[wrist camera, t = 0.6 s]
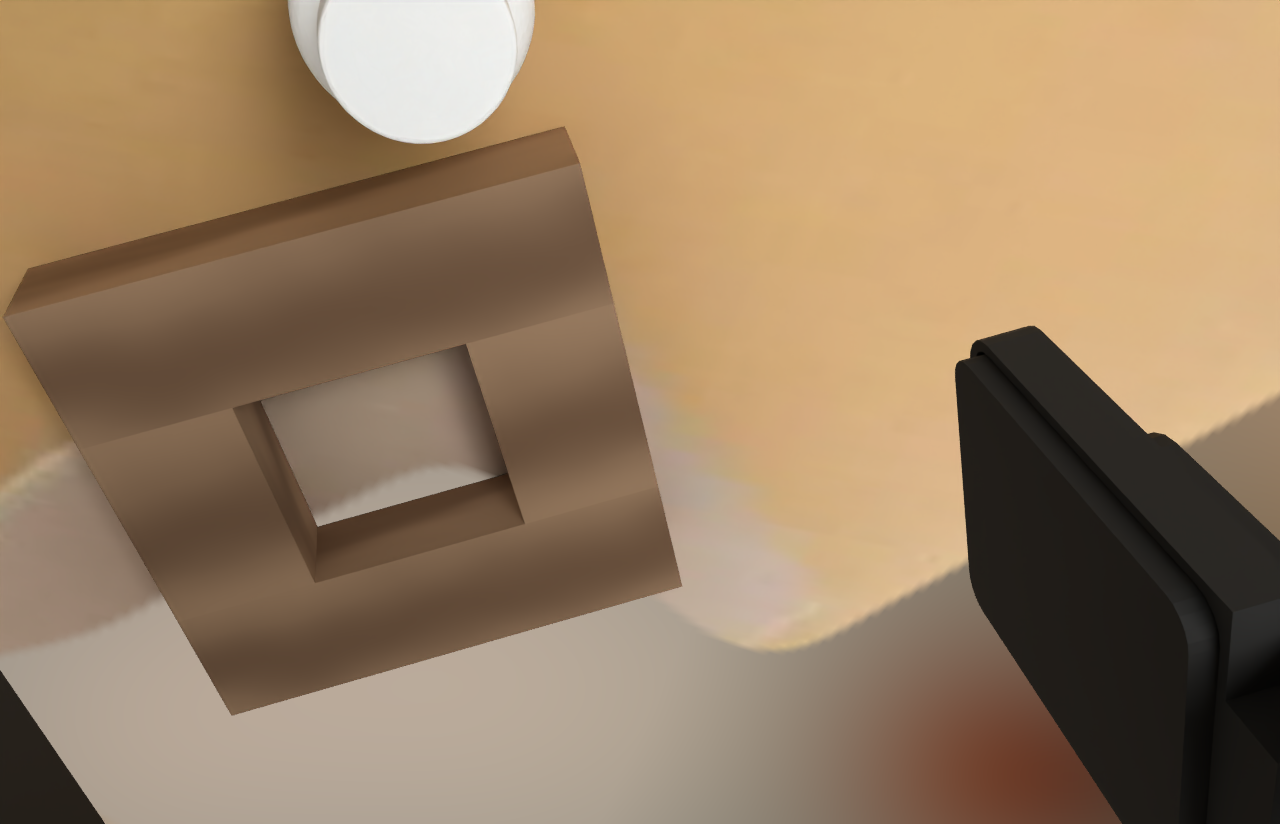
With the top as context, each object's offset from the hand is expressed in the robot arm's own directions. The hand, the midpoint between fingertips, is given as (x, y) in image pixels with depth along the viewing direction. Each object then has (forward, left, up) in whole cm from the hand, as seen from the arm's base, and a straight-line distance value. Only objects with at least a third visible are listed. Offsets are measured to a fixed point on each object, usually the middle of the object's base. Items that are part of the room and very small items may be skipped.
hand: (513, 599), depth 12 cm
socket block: (+13, -5, -26) cm, 29 cm away
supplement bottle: (-1, 0, -26) cm, 26 cm away
